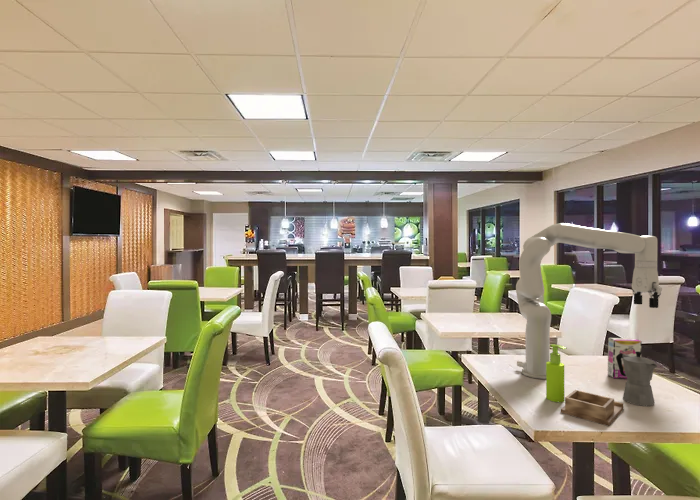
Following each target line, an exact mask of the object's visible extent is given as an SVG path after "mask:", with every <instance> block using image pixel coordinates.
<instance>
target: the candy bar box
mask: <svg viewBox="0 0 700 500" xmlns="http://www.w3.org/2000/svg"><path fill="white" fill-rule="evenodd" d="M642 342H643V341H641V340H639V339H637V338H633V337H632V338H630V337H629V338H626V337H625V338H624V337H608V339H607V375H608V376H609V377H610V378H613V379H624V380H627V377H626V376H623V375H621V373H620V370H619V367H618V363H617V360H616V356H617V355H618V354H619V353H623V354H626V355H629V356H636V352H638V351H639V352H641V353H642ZM640 357H642V355H641V356H640ZM621 360H622V366H623V372H624V373H625V369H624V363H623V358H621Z"/></svg>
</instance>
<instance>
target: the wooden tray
mask: <svg viewBox="0 0 700 500" xmlns="http://www.w3.org/2000/svg"><path fill="white" fill-rule="evenodd" d="M623 411H624V403H623V402H620V401H616V400H615V398H613V397H608V396H606V395H605V396H604V395H600V394H595V393H591V392H588V391H582V390H579V389H574V390H573V391H572V392H571V393H569V394H568V395H566V396H564V406H562V407H561V408H560V414H564V415H568V416H571V417H575V418H579V419H582V420H585V421H589V422H594V423H597V424H599V425H604V426H607V427H610V426H611V425H612V423H614V421H615V420H616V419H617V418H618V417H619V415H620V414H621V413H622V412H623Z"/></svg>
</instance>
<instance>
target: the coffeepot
mask: <svg viewBox="0 0 700 500" xmlns="http://www.w3.org/2000/svg"><path fill="white" fill-rule="evenodd" d="M640 356H641V357H640ZM621 358H623V363H624V369H625V373H624V372H623V366H622V360H621ZM616 360H617V363H618V367H619V370H620V373H621V375H623V376H626V377H627V379H626V381H625V385H624V389H623V395H622V399H623V400H624V401H625V402H627V403H629V404H632V405H635V406H638V407H639V406H641V407H653V406H654V404H655V398H654V393H653V389H652V385H651V381H652V379H653V375H654V370H655V369H657V367H658V365H657V363H656V361H654V360H652V359H649V358H646V357H643V356H642V351H641V352H639V351H638V352H636V356H629V355H626V354H623V353H619V354H618V355H617V356H616Z"/></svg>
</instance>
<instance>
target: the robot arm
mask: <svg viewBox="0 0 700 500" xmlns="http://www.w3.org/2000/svg"><path fill="white" fill-rule="evenodd" d="M559 243H561V244H567V245H572V246H578V247H583V248H588V249H605V250H614V251H615V252H617V253H620V254H634V269H633V272H632V273H633V274H632V279H631V280H632V281H631V282H632V283H631V284H630V286H631V291H632V295H633V305H642V304H643V295H642V294H643V293H645V294H646V293H647V294H648V295H649V300H648V302H649V303H648V307H649V308H651V309H657V308H658V309H659V299H660V296H661V294H662V290H663V288H662V287H661V285H659V284H660V282H659V271H658V238H657V236H654V235H641V236H640V235H637V234H633V233H628V232H620V231H614V230H605V229H601V228H596V227H595V228H594V227H587V226H581V225H577V224H572V223H566V222H565V223H564V222H560V223H555V224H551V225H549V226H547V227H546V228H544V229H542V230H541V231H539V232H537V233H536V234H534V235H532V236H529V238H527V239H526V240H525V241H524V242H523V245H522V247H523V248H522V249H523V250H522V252H521V254H520V256H519V260H518V267H519V279H518V280H517V281H516V284H515V292H516V298H517V302H518V308H519V313H520V315H521V316H522V317H523V318H524V319H525V320H526V324H525V361H519V360H517V361H516V366H517V367H519V368H522V369H521V373H522V375H524V376H525V377H529V378H533V379H538V380H546V362H549V361H550V353H551V352H550V351H551V350H550V348H551V346H550V345H551V344H550V336H551V335H550V331H551V323H552V312H551V310H550V308H549V307H548V306H547V305H546V304H545V303H542V302H541V298H542V297H543V296H544V294H545V285H544V282H543V281H544V280H543V276H542V269H541V263H542V261H543V258H544V257H545V256H546V255H548V254H549V252H550V251H551V248H552V247H553V246H555V245H556V244H559Z"/></svg>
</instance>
